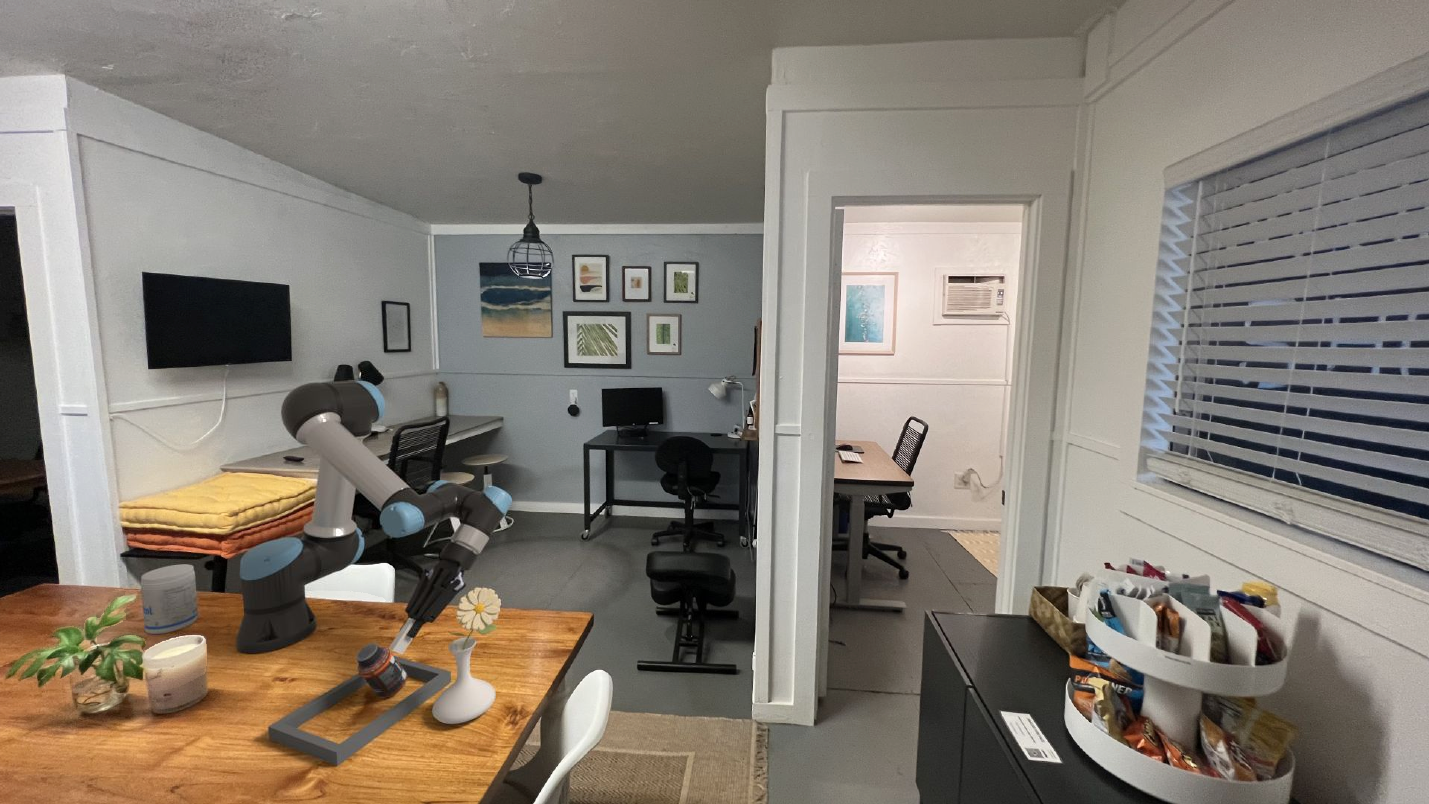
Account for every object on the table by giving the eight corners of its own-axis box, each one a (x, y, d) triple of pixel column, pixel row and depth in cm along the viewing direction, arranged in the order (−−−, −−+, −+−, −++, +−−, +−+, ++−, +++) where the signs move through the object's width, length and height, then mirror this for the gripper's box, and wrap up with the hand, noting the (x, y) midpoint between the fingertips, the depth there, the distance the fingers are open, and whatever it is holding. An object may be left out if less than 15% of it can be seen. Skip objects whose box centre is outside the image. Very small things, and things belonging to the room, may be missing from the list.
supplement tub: (136, 631, 130) (131, 575, 128) (185, 613, 139) (180, 561, 137) (158, 639, 127) (152, 581, 125) (207, 620, 135) (202, 566, 134)
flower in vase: (425, 735, 95) (419, 607, 93) (440, 696, 106) (435, 580, 104) (500, 722, 99) (496, 598, 97) (507, 685, 110) (504, 573, 107)
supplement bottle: (414, 671, 110) (389, 637, 104) (397, 699, 105) (369, 665, 99) (390, 672, 111) (364, 638, 105) (371, 699, 106) (343, 666, 100)
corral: (269, 739, 94) (268, 726, 94) (390, 665, 117) (389, 654, 116) (337, 766, 88) (336, 752, 88) (451, 682, 111) (450, 671, 111)
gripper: (492, 560, 120) (427, 665, 107) (457, 550, 126) (391, 649, 113) (471, 545, 115) (400, 654, 101) (435, 536, 121) (363, 637, 108)
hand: (395, 651), depth 107 cm, fingers closed
